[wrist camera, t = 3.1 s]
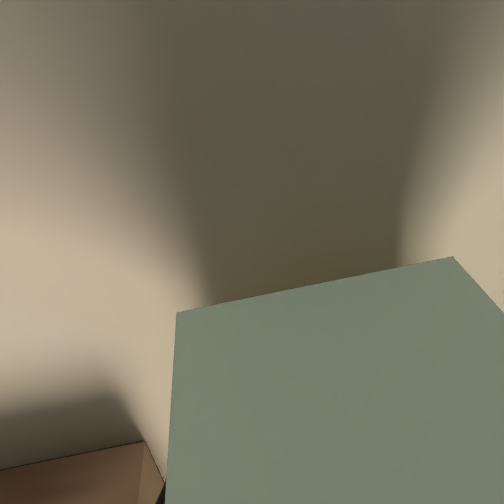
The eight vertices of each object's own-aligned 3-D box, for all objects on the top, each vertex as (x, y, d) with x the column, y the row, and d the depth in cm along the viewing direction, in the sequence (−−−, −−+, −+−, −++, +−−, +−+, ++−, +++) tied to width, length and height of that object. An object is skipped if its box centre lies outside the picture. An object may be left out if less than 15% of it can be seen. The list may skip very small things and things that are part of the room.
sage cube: (452, 255, 8) (722, 555, 4) (442, 435, 11) (600, 733, 7) (176, 312, 8) (153, 669, 4) (231, 478, 11) (253, 803, 7)
